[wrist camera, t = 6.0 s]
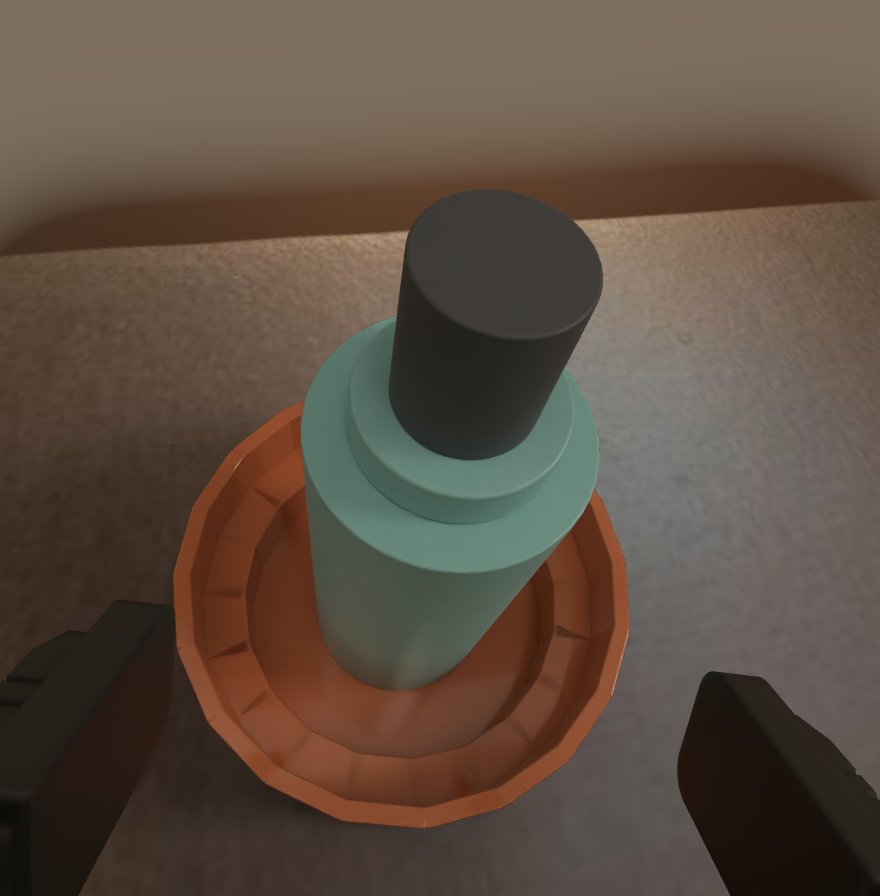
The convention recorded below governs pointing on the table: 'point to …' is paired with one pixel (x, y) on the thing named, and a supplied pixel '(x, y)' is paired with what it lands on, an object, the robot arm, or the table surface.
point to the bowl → (369, 708)
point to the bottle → (451, 438)
